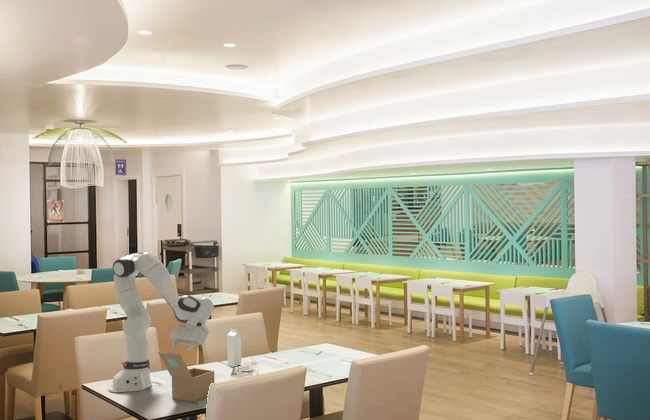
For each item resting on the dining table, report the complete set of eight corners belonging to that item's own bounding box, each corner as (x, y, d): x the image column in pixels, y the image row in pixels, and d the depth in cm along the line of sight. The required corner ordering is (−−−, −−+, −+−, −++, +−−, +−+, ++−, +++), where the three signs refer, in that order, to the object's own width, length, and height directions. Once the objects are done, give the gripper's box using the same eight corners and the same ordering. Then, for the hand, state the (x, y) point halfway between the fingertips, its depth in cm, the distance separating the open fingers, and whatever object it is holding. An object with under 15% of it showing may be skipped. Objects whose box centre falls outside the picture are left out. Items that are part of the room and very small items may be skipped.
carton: (193, 402, 319) (192, 378, 319) (172, 398, 327) (171, 374, 327) (214, 394, 333) (214, 370, 333) (194, 390, 340) (193, 367, 340)
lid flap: (192, 378, 319) (191, 379, 319) (171, 374, 327) (170, 375, 326) (180, 354, 312) (179, 355, 311) (158, 351, 319) (157, 352, 319)
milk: (234, 364, 398) (234, 328, 398) (241, 365, 394) (241, 329, 395) (227, 366, 393) (226, 329, 393) (234, 367, 390) (234, 330, 390)
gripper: (176, 321, 334) (162, 343, 326) (206, 324, 324) (192, 347, 315) (182, 328, 338) (168, 350, 330) (212, 331, 327) (199, 355, 319)
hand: (180, 349), depth 322 cm, fingers open, 8 cm apart
